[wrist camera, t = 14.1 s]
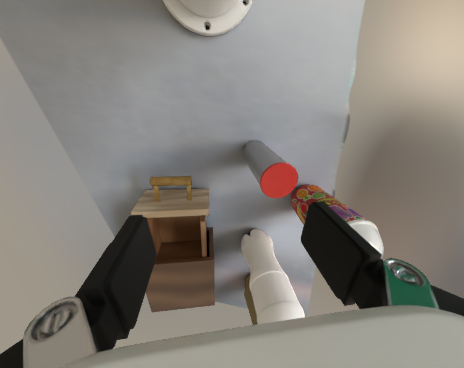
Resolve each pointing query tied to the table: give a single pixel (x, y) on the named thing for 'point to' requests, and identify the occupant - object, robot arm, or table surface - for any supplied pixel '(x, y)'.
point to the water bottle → (268, 281)
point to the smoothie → (357, 222)
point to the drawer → (175, 218)
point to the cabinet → (183, 282)
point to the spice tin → (270, 170)
